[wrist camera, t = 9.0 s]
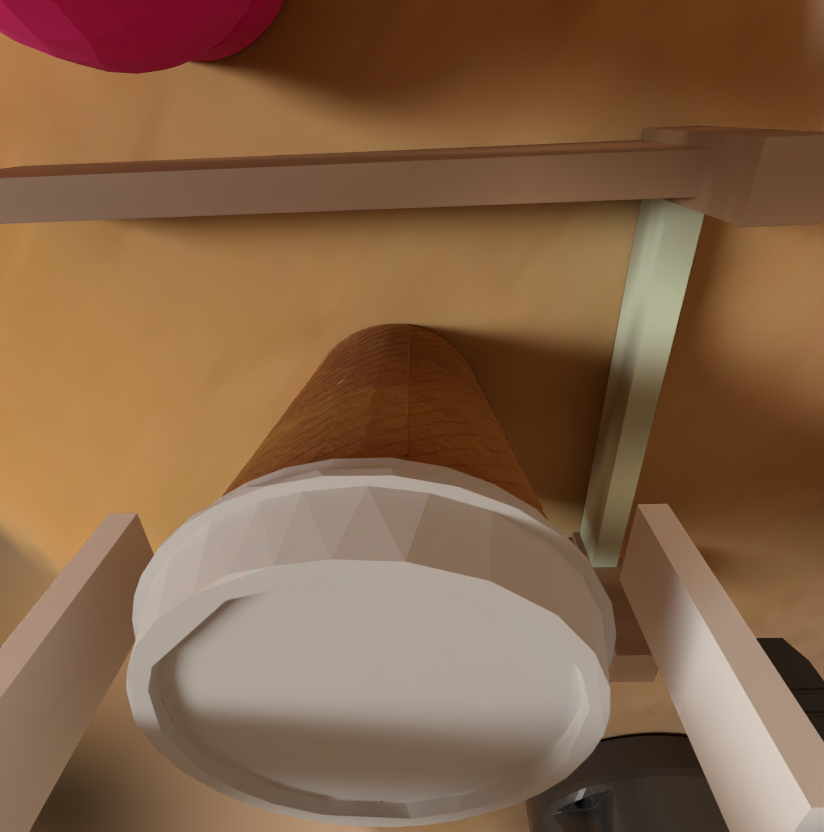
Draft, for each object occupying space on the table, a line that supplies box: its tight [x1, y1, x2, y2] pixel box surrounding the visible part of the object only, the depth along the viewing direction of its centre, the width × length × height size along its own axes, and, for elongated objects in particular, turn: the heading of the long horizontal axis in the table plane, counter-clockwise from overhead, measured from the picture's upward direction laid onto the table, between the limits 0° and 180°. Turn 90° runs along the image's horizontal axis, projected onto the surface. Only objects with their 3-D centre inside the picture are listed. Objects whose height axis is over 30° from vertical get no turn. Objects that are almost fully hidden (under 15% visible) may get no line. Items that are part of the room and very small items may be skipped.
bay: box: [0, 126, 824, 682], centre depth 17 cm, size 18×20×6 cm
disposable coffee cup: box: [126, 324, 616, 827], centre depth 14 cm, size 10×10×12 cm
